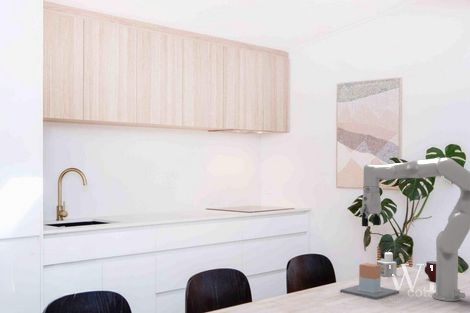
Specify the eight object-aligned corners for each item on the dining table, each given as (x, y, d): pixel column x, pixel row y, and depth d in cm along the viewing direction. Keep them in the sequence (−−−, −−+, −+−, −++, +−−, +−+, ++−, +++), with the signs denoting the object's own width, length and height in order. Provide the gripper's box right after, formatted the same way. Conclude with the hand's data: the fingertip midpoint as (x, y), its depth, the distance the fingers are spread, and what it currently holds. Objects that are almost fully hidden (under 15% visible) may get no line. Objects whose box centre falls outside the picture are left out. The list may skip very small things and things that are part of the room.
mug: (419, 279, 316) (419, 261, 316) (428, 278, 321) (429, 259, 321) (435, 283, 308) (435, 264, 308) (445, 281, 312) (445, 263, 312)
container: (376, 274, 329) (376, 251, 329) (387, 273, 333) (387, 250, 333) (385, 277, 322) (385, 253, 322) (396, 276, 326) (397, 252, 326)
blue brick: (380, 290, 283) (380, 277, 283) (373, 292, 279) (373, 279, 279) (366, 287, 289) (366, 275, 289) (359, 289, 285) (359, 276, 285)
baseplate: (399, 293, 284) (399, 290, 284) (376, 299, 270) (376, 296, 270) (363, 286, 298) (363, 283, 298) (340, 292, 284) (340, 289, 284)
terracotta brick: (380, 277, 283) (380, 265, 283) (373, 279, 279) (373, 266, 279) (366, 275, 289) (366, 262, 289) (359, 276, 285) (359, 264, 285)
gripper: (367, 191, 275) (367, 227, 275) (387, 190, 287) (387, 225, 287) (354, 190, 281) (353, 226, 281) (374, 189, 293) (374, 223, 293)
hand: (370, 225), depth 284 cm, fingers open, 9 cm apart
